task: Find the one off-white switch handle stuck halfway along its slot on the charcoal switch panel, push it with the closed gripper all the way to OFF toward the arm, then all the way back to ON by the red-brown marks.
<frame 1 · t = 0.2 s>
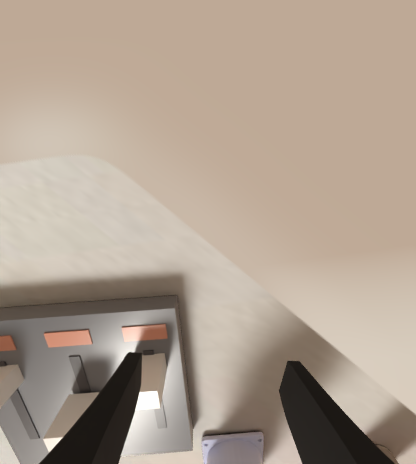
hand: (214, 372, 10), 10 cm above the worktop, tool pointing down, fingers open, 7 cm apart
thermos bottle: (362, 460, 29), on the worktop
switch panel: (97, 378, 23), on the worktop
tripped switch: (76, 420, 19), point 4 cm above the worktop, slide at 4.0 cm
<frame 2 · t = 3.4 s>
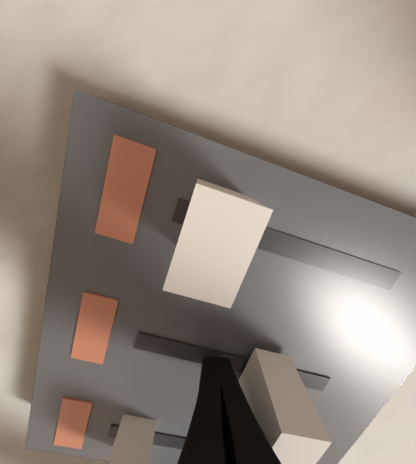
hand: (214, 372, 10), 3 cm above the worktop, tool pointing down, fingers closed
switch panel: (231, 334, 13), on the worktop
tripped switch: (272, 410, 9), point 4 cm above the worktop, slide at 2.6 cm, touching gripper
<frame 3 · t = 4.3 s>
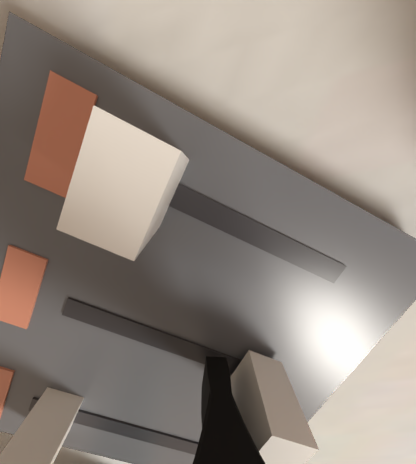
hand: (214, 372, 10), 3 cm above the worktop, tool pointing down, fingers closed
switch panel: (177, 316, 12), on the worktop
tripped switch: (260, 413, 9), point 4 cm above the worktop, slide at -0.6 cm, touching gripper
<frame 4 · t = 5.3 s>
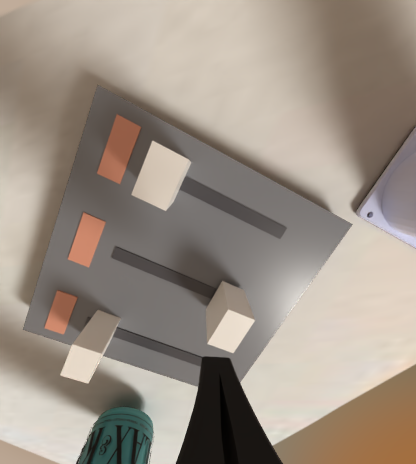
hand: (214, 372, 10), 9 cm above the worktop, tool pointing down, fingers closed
switch panel: (182, 268, 18), on the worktop
beverage bottle: (129, 408, 23), on the worktop
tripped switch: (227, 314, 15), point 4 cm above the worktop, slide at -0.1 cm
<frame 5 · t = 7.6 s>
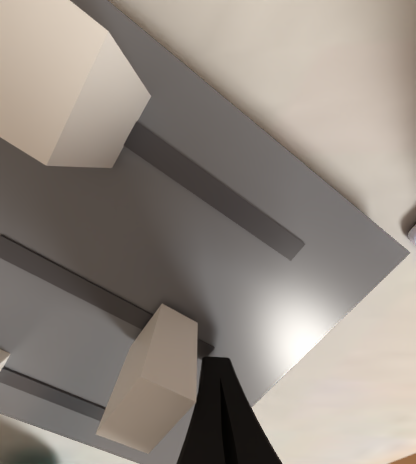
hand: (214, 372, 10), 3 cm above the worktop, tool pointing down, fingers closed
switch panel: (129, 282, 12), on the worktop
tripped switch: (156, 368, 8), point 4 cm above the worktop, slide at 1.3 cm, touching gripper
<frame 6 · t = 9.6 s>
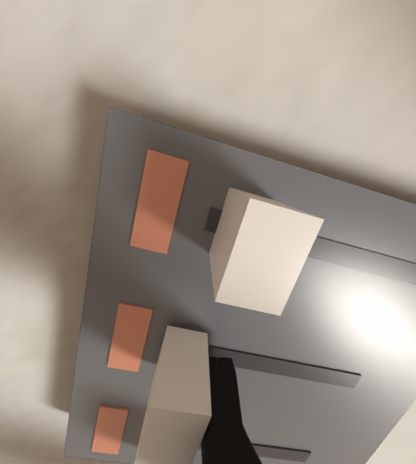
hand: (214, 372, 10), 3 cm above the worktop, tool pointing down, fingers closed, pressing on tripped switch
switch panel: (258, 335, 13), on the worktop
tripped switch: (176, 388, 9), point 4 cm above the worktop, slide at 9.0 cm, touching gripper
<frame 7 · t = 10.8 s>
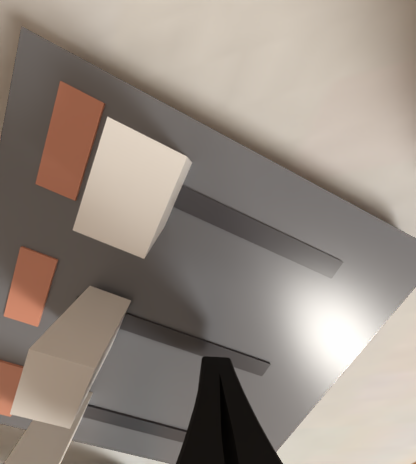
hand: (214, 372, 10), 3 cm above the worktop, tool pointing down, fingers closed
switch panel: (181, 313, 13), on the worktop
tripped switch: (81, 347, 8), point 4 cm above the worktop, slide at 8.1 cm
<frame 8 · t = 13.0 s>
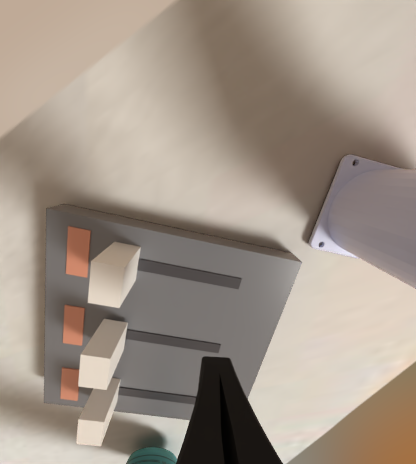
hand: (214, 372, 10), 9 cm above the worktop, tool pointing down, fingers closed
switch panel: (164, 323, 20), on the worktop
beverage bottle: (154, 444, 26), on the worktop
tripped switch: (105, 351, 16), point 4 cm above the worktop, slide at 8.1 cm
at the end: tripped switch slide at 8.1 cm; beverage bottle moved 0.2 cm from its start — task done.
